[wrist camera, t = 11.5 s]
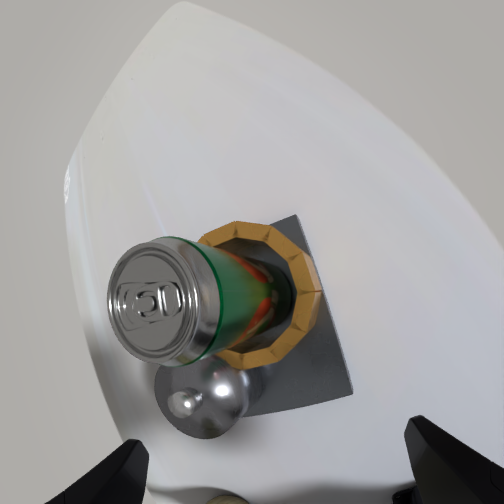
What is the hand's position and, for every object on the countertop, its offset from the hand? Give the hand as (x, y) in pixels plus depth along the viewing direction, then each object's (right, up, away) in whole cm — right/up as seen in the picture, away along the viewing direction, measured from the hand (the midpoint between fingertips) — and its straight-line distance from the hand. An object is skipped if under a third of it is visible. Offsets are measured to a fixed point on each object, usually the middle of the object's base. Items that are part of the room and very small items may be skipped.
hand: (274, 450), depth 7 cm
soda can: (0, +3, +13) cm, 14 cm away
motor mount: (-1, 0, +14) cm, 14 cm away
